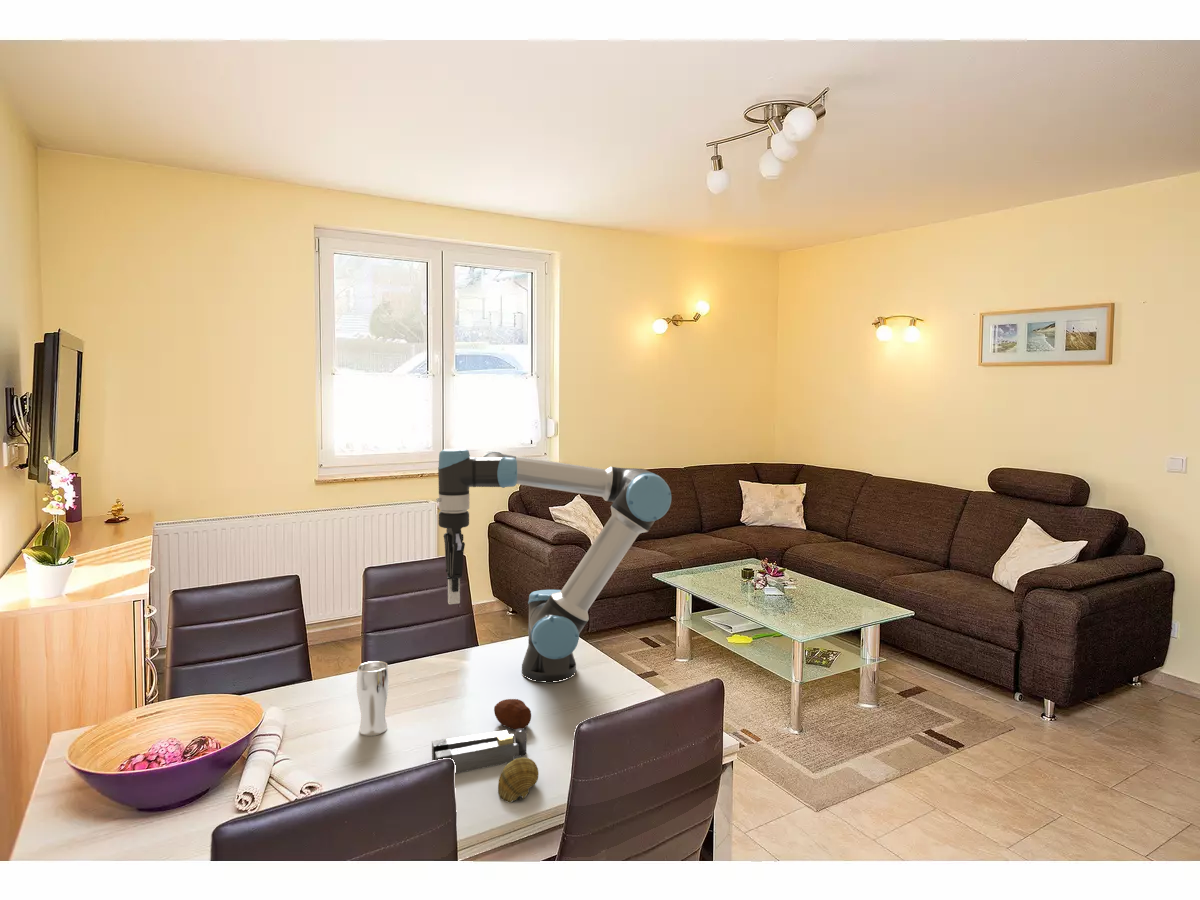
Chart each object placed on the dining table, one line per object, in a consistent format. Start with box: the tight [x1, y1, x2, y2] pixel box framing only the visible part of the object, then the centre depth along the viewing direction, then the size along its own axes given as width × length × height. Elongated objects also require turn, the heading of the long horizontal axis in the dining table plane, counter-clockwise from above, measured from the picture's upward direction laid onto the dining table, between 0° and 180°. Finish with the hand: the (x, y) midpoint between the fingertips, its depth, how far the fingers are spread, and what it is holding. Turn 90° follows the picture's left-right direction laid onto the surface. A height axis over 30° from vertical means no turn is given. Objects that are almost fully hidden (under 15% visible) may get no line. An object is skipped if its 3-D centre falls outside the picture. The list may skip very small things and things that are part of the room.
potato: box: [493, 698, 532, 731], centre depth 167 cm, size 7×9×6 cm
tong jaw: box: [431, 729, 515, 760], centre depth 152 cm, size 17×2×4 cm, turn 110°
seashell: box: [497, 756, 539, 803], centre depth 140 cm, size 10×7×8 cm
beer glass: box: [356, 660, 390, 737], centre depth 163 cm, size 7×7×15 cm
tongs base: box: [435, 728, 528, 774], centre depth 150 cm, size 20×4×5 cm, turn 114°
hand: (453, 603), depth 181 cm, fingers closed
